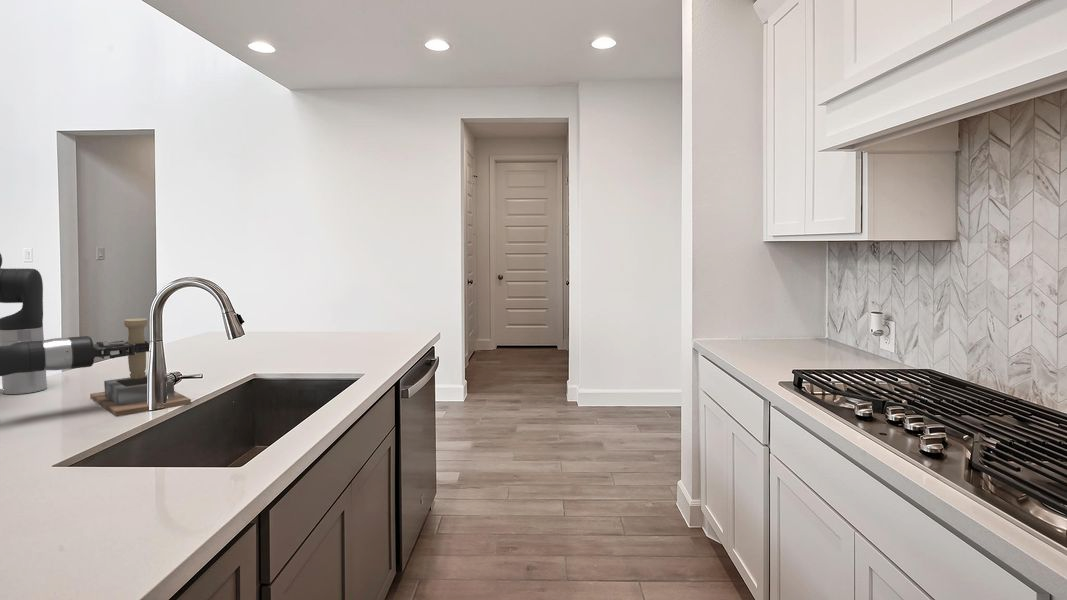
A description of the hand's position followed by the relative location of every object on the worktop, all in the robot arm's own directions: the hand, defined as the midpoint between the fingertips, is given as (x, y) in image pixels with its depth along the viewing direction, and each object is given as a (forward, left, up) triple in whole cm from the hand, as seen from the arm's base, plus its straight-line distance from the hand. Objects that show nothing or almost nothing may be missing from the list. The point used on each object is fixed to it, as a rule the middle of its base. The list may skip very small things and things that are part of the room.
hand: (149, 345), depth 156 cm
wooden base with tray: (0, -3, -14) cm, 14 cm away
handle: (0, -3, -8) cm, 9 cm away
